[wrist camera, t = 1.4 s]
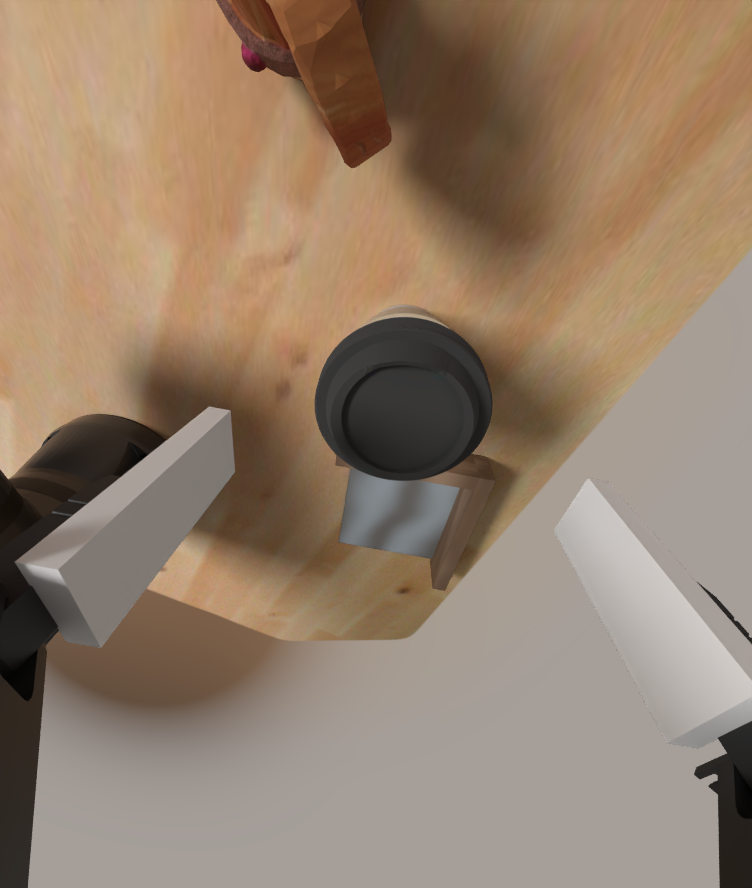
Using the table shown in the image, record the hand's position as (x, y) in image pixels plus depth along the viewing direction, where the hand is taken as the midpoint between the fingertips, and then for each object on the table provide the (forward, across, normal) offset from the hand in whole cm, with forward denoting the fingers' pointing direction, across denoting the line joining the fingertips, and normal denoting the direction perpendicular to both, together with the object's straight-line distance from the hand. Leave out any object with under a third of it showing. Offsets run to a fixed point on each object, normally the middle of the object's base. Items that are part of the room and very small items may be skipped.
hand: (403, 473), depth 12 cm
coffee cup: (+18, 0, 0) cm, 19 cm away
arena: (+18, +3, -18) cm, 26 cm away
